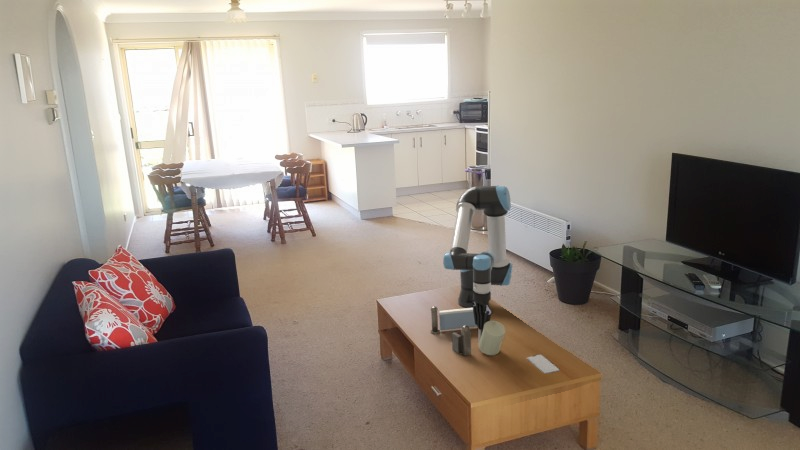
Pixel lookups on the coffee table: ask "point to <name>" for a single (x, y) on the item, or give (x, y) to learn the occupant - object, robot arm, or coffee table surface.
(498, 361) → the coffee table surface
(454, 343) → the latch post
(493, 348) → the can
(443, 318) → the gate
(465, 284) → the robot arm
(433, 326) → the hinge post
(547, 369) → the smartphone
